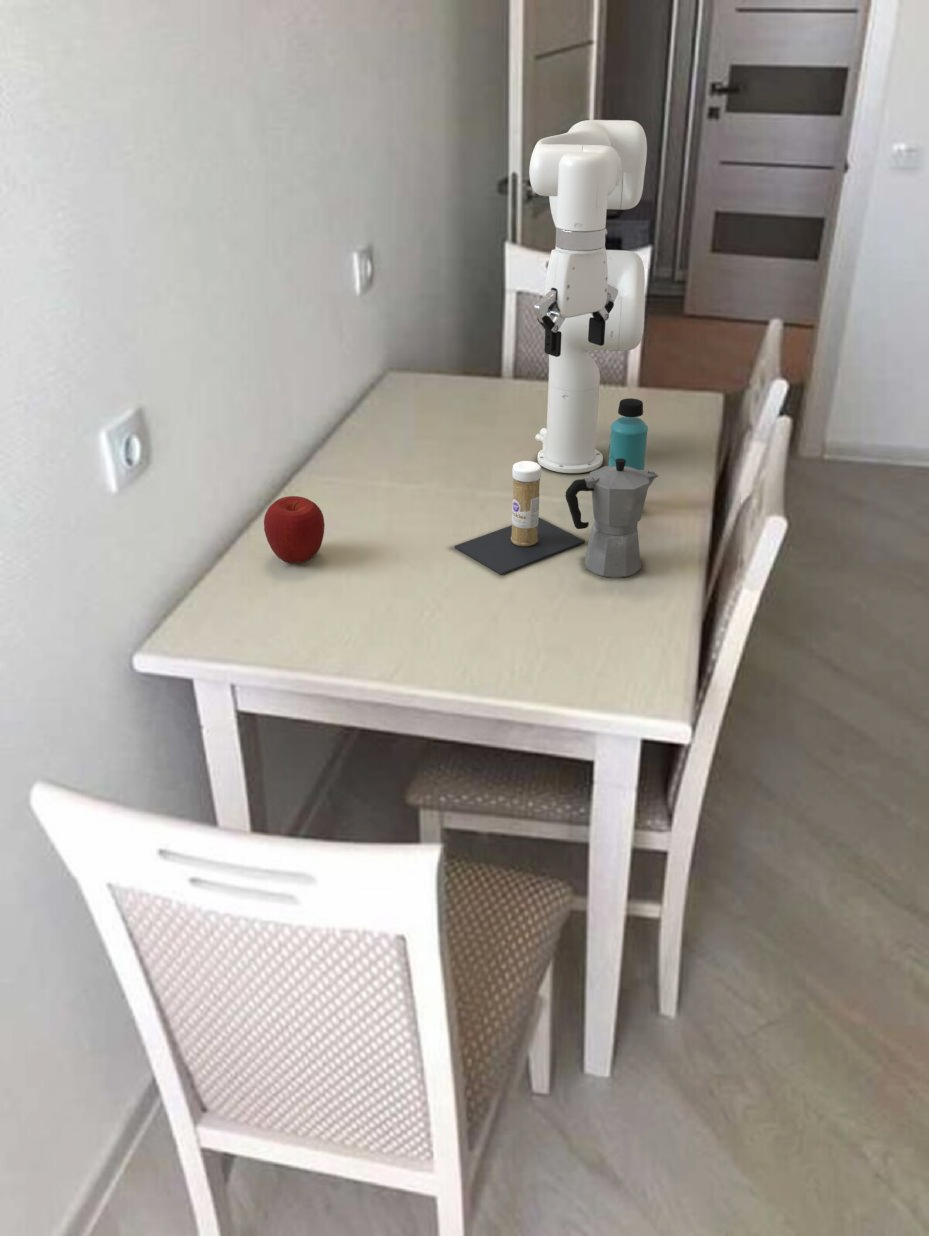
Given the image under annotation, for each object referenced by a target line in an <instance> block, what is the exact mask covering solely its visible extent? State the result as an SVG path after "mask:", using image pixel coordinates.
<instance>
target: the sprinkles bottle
mask: <svg viewBox="0 0 929 1236" xmlns="http://www.w3.org/2000/svg"><path fill="white" fill-rule="evenodd" d="M511 473H512V474H511V476H512V483H513V484H512V503H511V504H512V505H511V525H512V536H511V541H512V542H513V544H515V545H518V546H524V547H525V546H531V545H534V544H535V543H537V542H538V537H537V534H538V519H539V518H540V515H539V514H540V481H541V478H542V466H541V465H540V464H539V463H538V462H537V461H536V462H535V461H531V460H522V461H517V462H515V463H514V464H513V465H512V472H511Z"/></svg>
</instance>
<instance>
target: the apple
mask: <svg viewBox="0 0 929 1236" xmlns="http://www.w3.org/2000/svg"><path fill="white" fill-rule="evenodd" d="M324 517H325V516H324V514H323V511H322V510H321V508H320V507H319V506H318V504H317V503H315V502H314V501H312V500H311V499H308V498H306V497H303V496H297V495H290V496H284V497H281V498H278V499H276V500H275V501H274V502H273V503H272V504H270V505H269V507H268V508H267V510H266V512H265V514H264V517H263V518H264V519H263V531H264V535H265V538H266V541H267V543H268V545H269V546H270V548H271V550H272V552H273V553H274V555H275V556H276V557H277V558H278V559H280V560H281V561H283V562H285V563H288V564H289V563H290V564H297V563H303V562H307V561H309V560H311V559H312V558H314V556H316V555H317V554H318V552H319V550H320V548H321V547H322V543H323V540H324V536H325V535H324V534H325V527H326V526H325V518H324Z"/></svg>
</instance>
